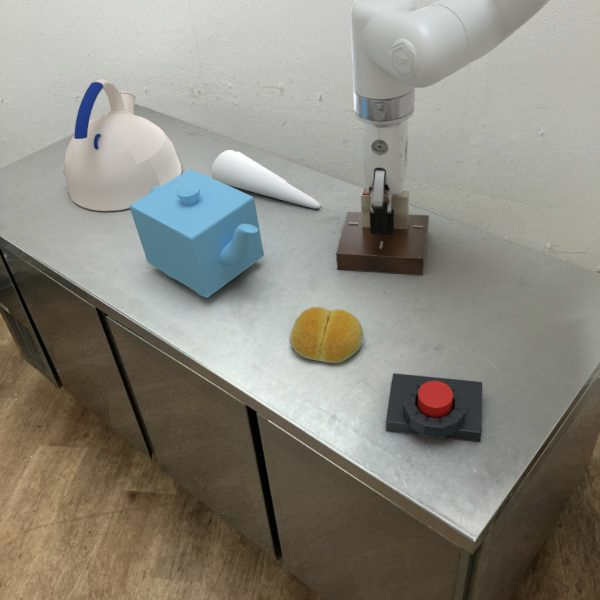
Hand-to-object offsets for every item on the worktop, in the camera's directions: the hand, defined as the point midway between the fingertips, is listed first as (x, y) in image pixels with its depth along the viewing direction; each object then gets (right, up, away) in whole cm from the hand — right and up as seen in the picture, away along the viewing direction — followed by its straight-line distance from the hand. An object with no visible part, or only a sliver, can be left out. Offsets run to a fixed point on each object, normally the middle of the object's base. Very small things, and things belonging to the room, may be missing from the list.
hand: (385, 216), depth 92 cm
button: (+2, -23, -23) cm, 33 cm away
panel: (0, -4, +2) cm, 5 cm away
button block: (+3, -24, -20) cm, 32 cm away
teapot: (-24, -8, +2) cm, 26 cm away
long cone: (-18, +5, +15) cm, 24 cm away
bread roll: (-9, -17, -11) cm, 22 cm away
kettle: (-43, +10, +24) cm, 50 cm away
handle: (0, -1, +1) cm, 1 cm away
